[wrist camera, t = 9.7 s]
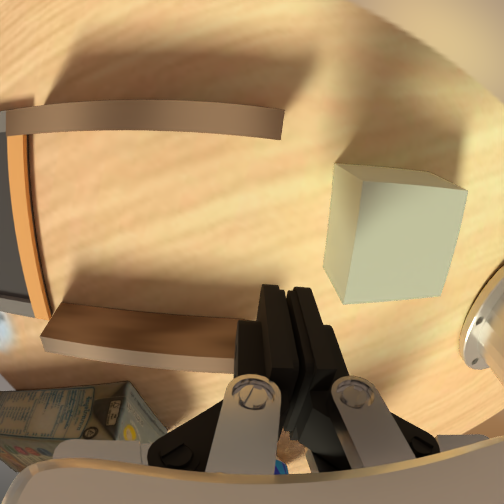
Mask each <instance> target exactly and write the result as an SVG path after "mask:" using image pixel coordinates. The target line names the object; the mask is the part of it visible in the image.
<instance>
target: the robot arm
mask: <svg viewBox="0 0 504 504" xmlns="http://www.w3.org/2000/svg"><path fill="white" fill-rule="evenodd" d="M459 352H460V356H461V357H462V359H463V361H464V362H465V363H466V365H467V366H468V367H469V368H472V369H478V370H481V369H486V368H491V370H492V371H493V372H494V374H495V375H496V377H497V378H498V379H499V381H500V382H501V383H502V385H503V386H504V266H503V267H501V268H500V269H499V270H498V271H497V272H496V274H495V275H494V276H493V277H492V278H491V279H490V280H489V282H488V283H487V284H486V286H485V287H484V288H483V290H482V291H481V292H480V294H479V296H478V297H477V299H476V301H475V302H474V304H473V305H472V307H471V309H470V311H469V313H468V315H467V317H466V320H465V322H464V325H463V328H462V331H461V335H460V339H459ZM283 428H284V431H289V432H290V440H298V442H300V443H301V444H303V445H304V446H305V455H306V458H307V461H308V464H309V467H310V470H311V473H307V474H283V475H274V471H275V461H276V451H277V442H278V440H279V437H280V434H281V431H282V429H283ZM2 504H504V436H500V437H495V438H491V439H489V438H488V437H486V436H484V435H480V434H478V435H477V434H475V435H437V436H436V437H435V438H434V437H433V436H432V435H430V434H429V433H428V432H426V431H424V430H422V429H420V428H418V427H416V426H415V425H413V424H411V423H409V422H407V421H405V420H404V419H402V418H400V417H398V416H396V415H395V414H393V413H391V412H390V411H389V409H388V408H387V406H386V404H385V402H384V401H383V399H382V397H381V396H380V394H379V392H378V390H377V389H376V388H375V386H374V385H373V384H372V383H370V382H369V381H368V380H365V379H363V378H361V377H356V376H349V374H348V371H347V368H346V365H345V362H344V359H343V356H342V353H341V351H340V348H339V345H338V342H337V339H336V336H335V334H334V331H333V328H332V327H331V326H330V325H323V323H322V320H321V317H320V314H319V311H318V308H317V305H316V302H315V299H314V296H313V293H312V290H311V288H305V287H294V289H293V291H290V290H289V291H288V292H287V297H286V296H285V291H284V290H279V286H278V285H267V284H262V287H261V293H260V300H259V306H258V313H257V320H256V321H249V320H238V322H237V330H236V339H235V352H234V379H233V380H232V381H231V382H230V383H229V384H228V386H227V388H226V392H225V396H224V399H223V400H222V401H220V402H219V403H217V404H215V405H214V406H212V407H211V408H209V409H207V410H206V411H204V412H203V413H201V414H199V415H198V416H196V417H194V418H193V419H191V420H189V421H188V422H186V423H184V424H183V425H181V426H179V427H178V428H176V429H174V430H172V431H171V432H169V433H167V434H165V435H164V436H162V437H160V438H158V439H157V440H156V441H155V442H153V443H145V444H140V442H139V441H111V440H84V439H70V440H66V441H64V442H62V443H60V444H59V445H58V446H57V447H56V448H55V451H54V454H53V459H51V460H46V461H41V462H37V463H34V464H31V465H29V466H28V467H26V468H25V469H23V470H22V471H21V472H20V473H19V474H18V475H17V477H16V478H15V479H14V481H13V482H12V484H11V486H10V487H9V489H8V491H7V493H6V495H5V497H4V499H3V501H2Z"/></svg>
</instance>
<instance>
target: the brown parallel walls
mask: <svg viewBox="0 0 504 504" xmlns="http://www.w3.org/2000/svg"><path fill="white" fill-rule="evenodd" d="M284 111H285V110H282V109H275V108H267V107H259V106H250V105H241V104H230V103H217V102H203V101H183V100H104V101H85V102H71V103H60V104H50V105H41V106H33V107H25V108H18V109H11V110H6V137H7V136H16V135H26V134H37V133H51V132H68V131H95V130H153V131H181V132H199V133H214V134H227V135H238V136H248V137H258V138H267V139H275V140H281V133H282V126H283V118H284ZM238 320H245V319H232V318H214V317H199V316H185V315H172V314H160V313H149V312H139V311H129V310H119V309H110V308H102V307H93V306H85V305H77V304H70V303H63V302H61V304H60V305H59V307H58V308H57V310H56V311H55V313H54V314H53V316H52V318H51V319H50V321H49V322H48V324H47V326H46V327H45V329H44V330H43V332H42V334H41V335H40V338H41V341H42V344H43V346H44V349H45V351H46V352H51V353H56V354H61V355H66V356H71V357H77V358H83V359H89V360H95V361H101V362H108V363H115V364H123V365H130V366H139V367H148V368H157V369H167V370H179V371H192V372H208V373H228V374H234V352H235V339H236V330H237V322H238Z"/></svg>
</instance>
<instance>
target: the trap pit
mask: <svg viewBox="0 0 504 504" xmlns="http://www.w3.org/2000/svg"><path fill="white" fill-rule="evenodd" d="M0 311H2V312H7V313H12V314H17V315H22V316H28V317H33V318H39V319H44V320H50V318H51V317H52V311H51V307H50V303H49V299H48V294H47V290H46V286H45V281H44V276H43V271H42V266H41V261H40V256H39V250H38V244H37V237H36V230H35V223H34V215H33V206H32V196H31V185H30V170H29V140H28V134H26V135H16V136H7V137H6V111H0Z"/></svg>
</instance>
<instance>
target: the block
mask: <svg viewBox="0 0 504 504" xmlns="http://www.w3.org/2000/svg"><path fill="white" fill-rule="evenodd" d="M467 194H468V190H466V189H464V188H462V187H460V186H458V185H455V184H453V183H451V182H449V181H447V180H445V179H443V178H441V177H439V176H437V175H434V174H432V173H430V172H426V171H418V170H409V169H400V168H390V167H379V166H368V165H355V164H340V163H334V170H333V182H332V192H331V202H330V212H329V221H328V229H327V238H326V246H325V254H324V261H323V268H324V270H325V272H326V274H327V275H328V277H329V279H330V281H331V283H332V285H333V287H334V288H335V290H336V292H337V294H338V296H339V298H340V300H341V301H342V303H343V305H344V304H359V303H372V302H385V301H397V300H408V299H418V298H428V297H438V296H441V293H442V290H443V287H444V284H445V281H446V277H447V274H448V271H449V268H450V264H451V261H452V257H453V254H454V250H455V246H456V243H457V239H458V235H459V231H460V227H461V222H462V218H463V213H464V209H465V204H466V199H467Z"/></svg>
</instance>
